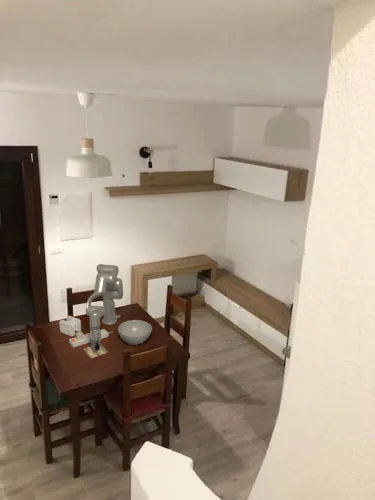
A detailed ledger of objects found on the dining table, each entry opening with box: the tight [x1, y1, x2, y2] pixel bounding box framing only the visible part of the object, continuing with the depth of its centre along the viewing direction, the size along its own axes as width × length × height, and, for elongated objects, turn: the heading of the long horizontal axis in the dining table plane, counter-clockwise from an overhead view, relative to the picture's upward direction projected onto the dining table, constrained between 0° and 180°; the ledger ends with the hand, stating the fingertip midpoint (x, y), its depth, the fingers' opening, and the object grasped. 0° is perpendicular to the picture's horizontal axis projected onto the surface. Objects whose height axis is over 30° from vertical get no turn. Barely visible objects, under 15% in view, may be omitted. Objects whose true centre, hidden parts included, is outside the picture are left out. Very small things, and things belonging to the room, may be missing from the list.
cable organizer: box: [58, 315, 82, 337], centre depth 332 cm, size 15×11×12 cm
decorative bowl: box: [117, 319, 153, 346], centre depth 324 cm, size 27×27×12 cm
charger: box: [90, 340, 100, 352], centre depth 308 cm, size 5×5×8 cm
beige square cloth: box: [82, 343, 109, 359], centre depth 310 cm, size 14×14×1 cm
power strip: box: [68, 328, 114, 348], centre depth 325 cm, size 36×8×8 cm, turn 127°
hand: (95, 347), depth 309 cm, fingers closed on charger, 5 cm apart
